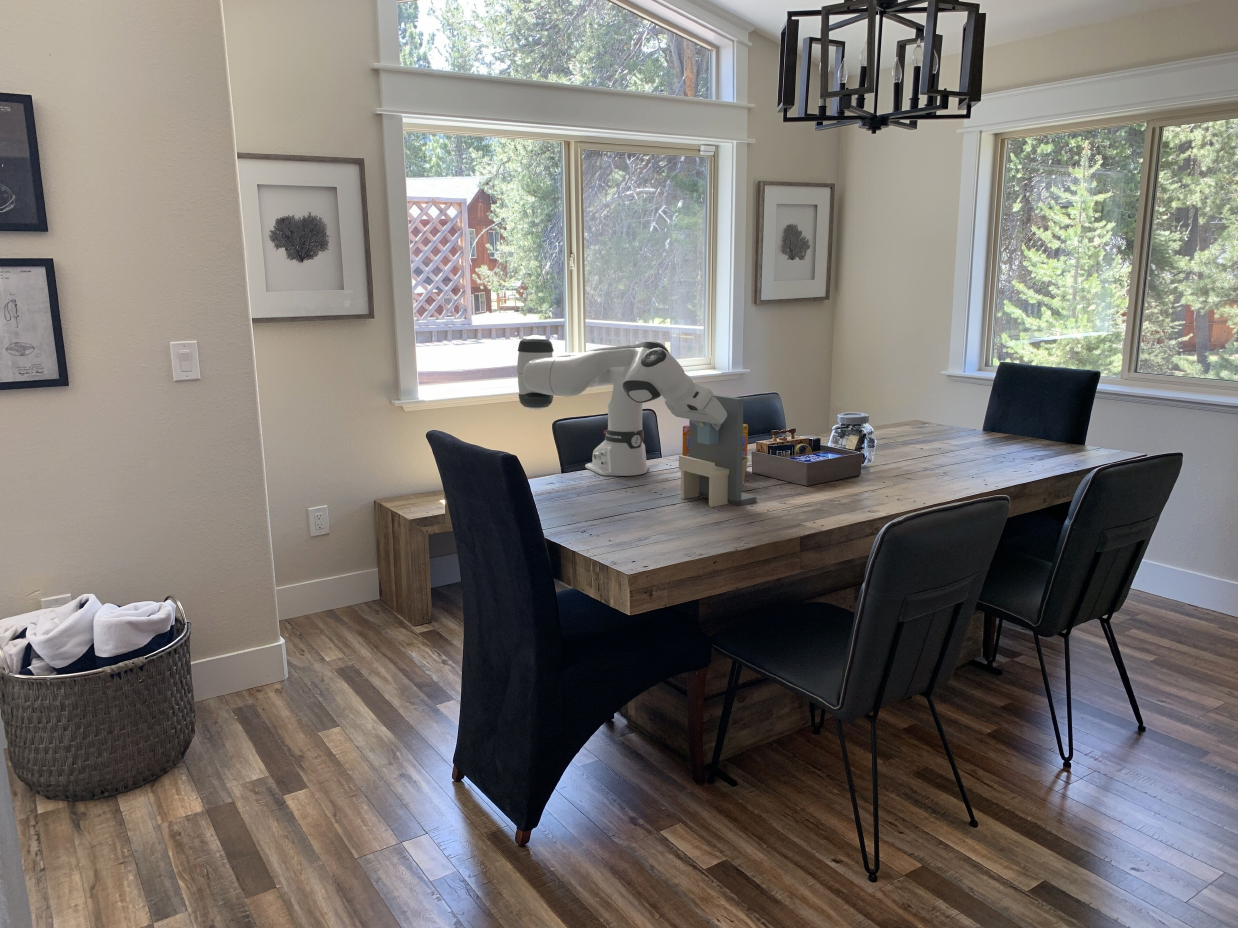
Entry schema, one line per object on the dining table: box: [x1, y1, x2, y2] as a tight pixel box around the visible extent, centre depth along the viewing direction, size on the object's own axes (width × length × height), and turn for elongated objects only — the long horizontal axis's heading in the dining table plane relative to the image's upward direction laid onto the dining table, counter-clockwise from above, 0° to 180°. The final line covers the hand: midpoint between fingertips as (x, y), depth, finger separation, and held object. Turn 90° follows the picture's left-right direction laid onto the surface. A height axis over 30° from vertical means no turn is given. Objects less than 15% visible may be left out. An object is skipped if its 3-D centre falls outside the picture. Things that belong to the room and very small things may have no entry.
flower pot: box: [742, 456, 750, 487], centre depth 276 cm, size 9×9×9 cm
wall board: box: [678, 393, 758, 508], centre depth 258 cm, size 20×14×30 cm
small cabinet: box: [697, 421, 719, 445], centre depth 255 cm, size 5×4×8 cm
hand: (709, 427), depth 255 cm, fingers closed on small cabinet, 5 cm apart
